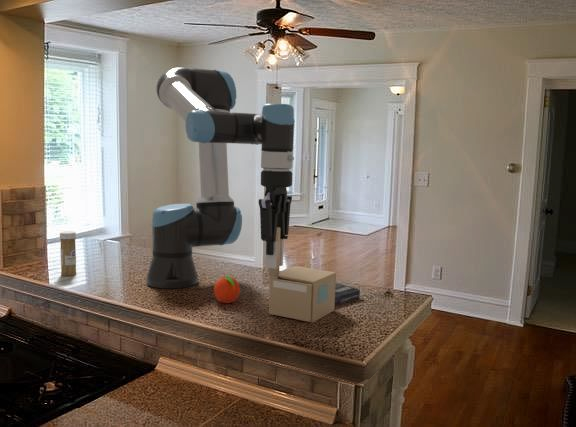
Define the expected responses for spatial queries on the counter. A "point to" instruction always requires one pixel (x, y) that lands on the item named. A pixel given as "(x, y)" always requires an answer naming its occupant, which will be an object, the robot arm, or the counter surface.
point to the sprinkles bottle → (68, 253)
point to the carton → (314, 288)
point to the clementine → (226, 289)
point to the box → (345, 294)
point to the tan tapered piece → (288, 294)
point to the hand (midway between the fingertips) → (274, 266)
